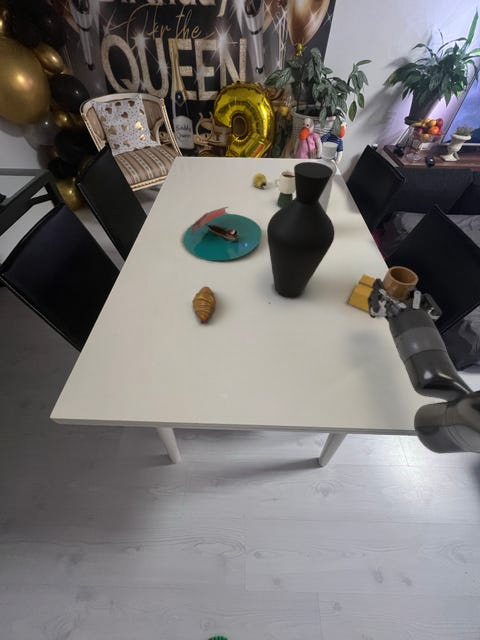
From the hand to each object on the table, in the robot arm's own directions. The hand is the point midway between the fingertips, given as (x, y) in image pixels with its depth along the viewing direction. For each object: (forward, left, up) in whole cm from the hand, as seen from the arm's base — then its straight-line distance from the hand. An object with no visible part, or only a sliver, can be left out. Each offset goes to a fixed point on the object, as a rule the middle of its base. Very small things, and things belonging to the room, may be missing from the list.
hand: (391, 282), depth 67 cm
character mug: (+50, -49, -18) cm, 72 cm away
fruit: (+67, -58, -18) cm, 90 cm away
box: (+3, -13, -18) cm, 22 cm away
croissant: (+41, +17, -18) cm, 48 cm away
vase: (+25, -4, -18) cm, 31 cm away
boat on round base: (+57, -14, -18) cm, 61 cm away
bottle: (+33, -37, -18) cm, 53 cm away
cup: (-1, +2, -6) cm, 6 cm away
